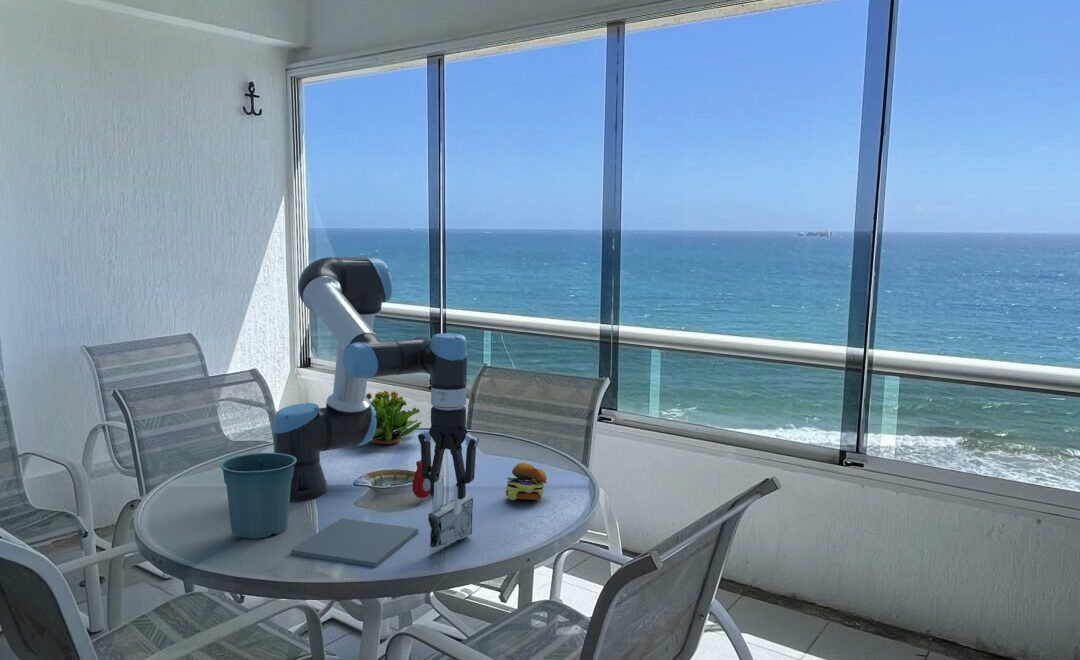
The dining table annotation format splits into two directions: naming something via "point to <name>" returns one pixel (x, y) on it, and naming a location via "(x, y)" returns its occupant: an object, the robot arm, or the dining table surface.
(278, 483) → the flower pot
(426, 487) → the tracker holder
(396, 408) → the potted flower
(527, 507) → the dining table surface
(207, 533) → the dining table surface
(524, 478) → the cheeseburger
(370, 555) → the mat
